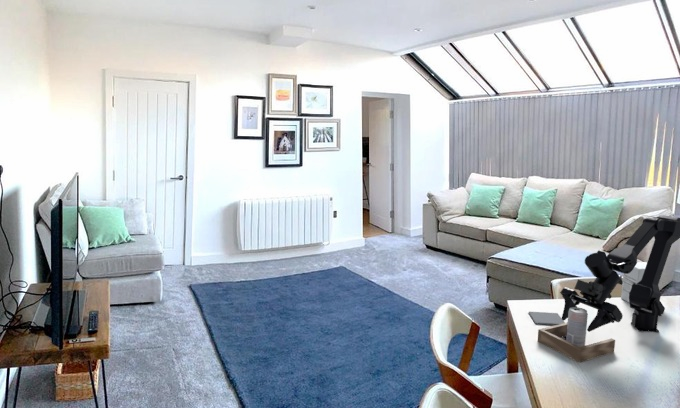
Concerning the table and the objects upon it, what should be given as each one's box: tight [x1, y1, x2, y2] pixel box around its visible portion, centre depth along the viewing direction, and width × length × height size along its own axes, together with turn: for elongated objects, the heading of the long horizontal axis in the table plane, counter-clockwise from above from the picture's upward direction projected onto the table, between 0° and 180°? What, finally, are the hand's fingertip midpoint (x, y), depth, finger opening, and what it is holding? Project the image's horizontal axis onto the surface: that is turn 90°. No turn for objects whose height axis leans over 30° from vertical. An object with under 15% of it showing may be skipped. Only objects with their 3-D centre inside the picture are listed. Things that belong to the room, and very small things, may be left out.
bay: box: [537, 321, 616, 363], centre depth 151 cm, size 15×15×4 cm
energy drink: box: [565, 306, 588, 347], centre depth 151 cm, size 5×5×12 cm
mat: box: [528, 311, 566, 326], centre depth 173 cm, size 10×10×1 cm
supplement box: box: [620, 261, 661, 304], centre depth 188 cm, size 9×9×15 cm
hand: (575, 325), depth 150 cm, fingers open, 9 cm apart
